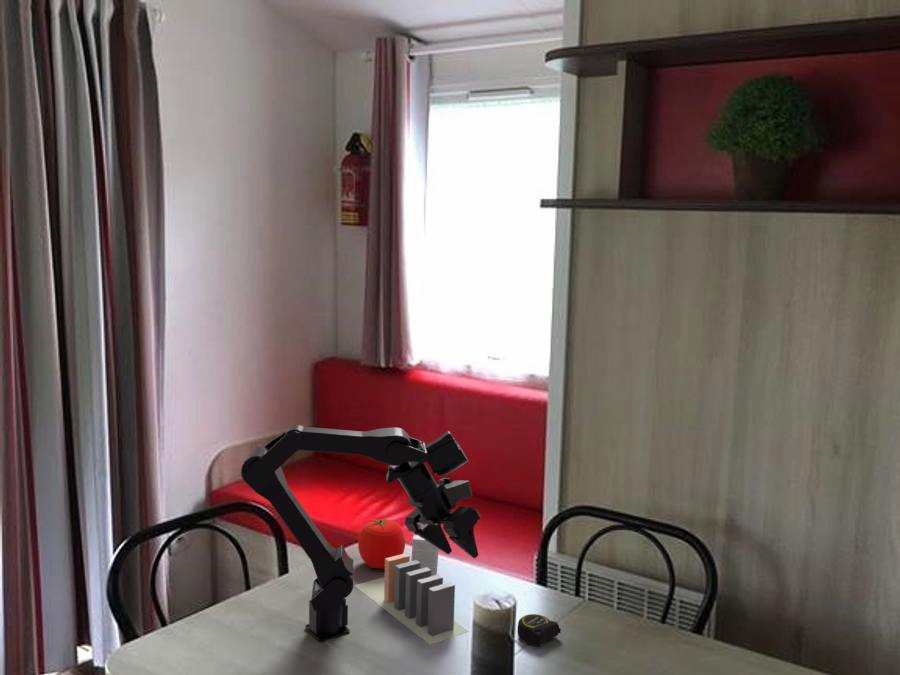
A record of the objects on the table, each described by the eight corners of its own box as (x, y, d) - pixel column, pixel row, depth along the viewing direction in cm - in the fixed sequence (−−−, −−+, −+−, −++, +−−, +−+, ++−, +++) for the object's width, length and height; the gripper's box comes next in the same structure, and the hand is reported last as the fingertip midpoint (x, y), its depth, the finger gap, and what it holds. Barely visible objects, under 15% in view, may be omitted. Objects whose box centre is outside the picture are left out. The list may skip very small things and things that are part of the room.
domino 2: (398, 610, 162) (399, 568, 160) (394, 607, 163) (395, 565, 162) (419, 604, 165) (420, 562, 163) (415, 601, 166) (416, 560, 165)
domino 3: (409, 618, 159) (410, 575, 157) (404, 615, 160) (405, 572, 159) (430, 612, 161) (431, 569, 160) (425, 609, 163) (426, 567, 161)
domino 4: (420, 627, 155) (421, 583, 154) (416, 624, 157) (417, 580, 155) (441, 620, 158) (442, 577, 157) (437, 617, 160) (438, 574, 158)
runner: (429, 645, 149) (430, 644, 149) (354, 586, 172) (354, 585, 172) (468, 632, 154) (468, 631, 154) (389, 576, 178) (389, 575, 178)
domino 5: (432, 636, 152) (433, 591, 151) (427, 632, 153) (428, 588, 152) (453, 629, 155) (454, 585, 154) (448, 625, 156) (450, 582, 155)
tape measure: (537, 653, 148) (538, 634, 147) (509, 638, 153) (510, 620, 152) (560, 640, 153) (561, 622, 152) (532, 627, 158) (533, 609, 157)
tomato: (414, 566, 183) (415, 521, 182) (377, 579, 176) (378, 532, 174) (385, 552, 191) (386, 508, 189) (349, 564, 184) (349, 518, 182)
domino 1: (388, 602, 165) (389, 561, 164) (384, 599, 166) (384, 558, 165) (408, 596, 168) (409, 555, 167) (404, 593, 169) (405, 553, 168)
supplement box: (436, 592, 170) (439, 540, 169) (408, 591, 170) (411, 539, 169) (437, 581, 176) (440, 530, 175) (410, 579, 176) (412, 529, 175)
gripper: (478, 462, 148) (519, 531, 151) (426, 463, 163) (464, 525, 166) (436, 500, 142) (479, 570, 145) (386, 497, 158) (426, 560, 160)
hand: (462, 554), depth 154 cm, fingers open, 9 cm apart
